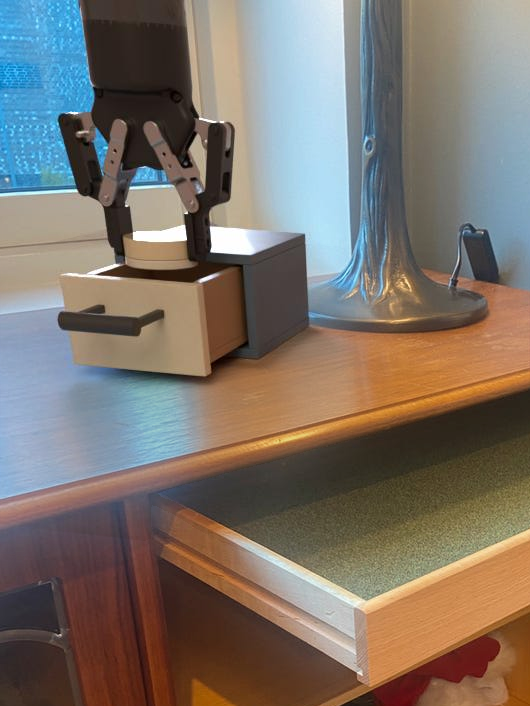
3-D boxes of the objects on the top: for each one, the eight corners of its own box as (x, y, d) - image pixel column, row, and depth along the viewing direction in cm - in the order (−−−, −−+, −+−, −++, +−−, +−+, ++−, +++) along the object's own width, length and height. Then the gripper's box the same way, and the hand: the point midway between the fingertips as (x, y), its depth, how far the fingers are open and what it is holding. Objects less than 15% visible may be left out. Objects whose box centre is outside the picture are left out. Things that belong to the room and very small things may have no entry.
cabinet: (258, 359, 87) (251, 255, 82) (127, 347, 88) (112, 244, 84) (309, 325, 99) (305, 233, 95) (193, 315, 101) (184, 224, 97)
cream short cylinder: (113, 267, 78) (109, 238, 77) (146, 256, 83) (142, 229, 82) (180, 272, 78) (177, 243, 76) (209, 261, 82) (206, 234, 81)
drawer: (175, 396, 73) (164, 300, 69) (35, 382, 74) (17, 287, 71) (264, 340, 89) (259, 260, 86) (148, 329, 91) (139, 250, 87)
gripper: (245, 26, 74) (259, 258, 82) (71, 17, 76) (103, 245, 84) (205, 20, 68) (225, 271, 76) (16, 10, 69) (57, 257, 78)
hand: (161, 256), depth 80 cm, fingers closed on cream short cylinder, 5 cm apart
